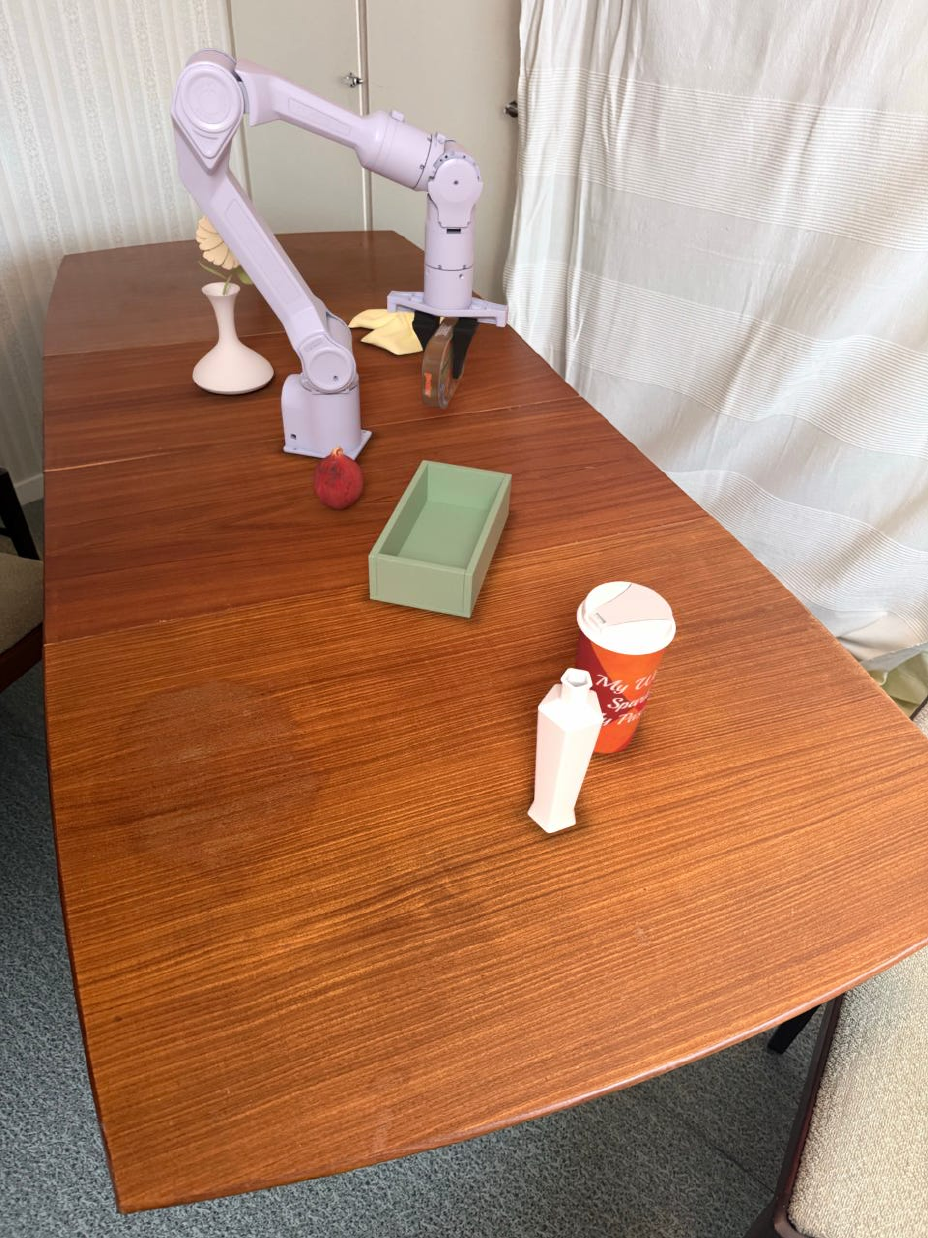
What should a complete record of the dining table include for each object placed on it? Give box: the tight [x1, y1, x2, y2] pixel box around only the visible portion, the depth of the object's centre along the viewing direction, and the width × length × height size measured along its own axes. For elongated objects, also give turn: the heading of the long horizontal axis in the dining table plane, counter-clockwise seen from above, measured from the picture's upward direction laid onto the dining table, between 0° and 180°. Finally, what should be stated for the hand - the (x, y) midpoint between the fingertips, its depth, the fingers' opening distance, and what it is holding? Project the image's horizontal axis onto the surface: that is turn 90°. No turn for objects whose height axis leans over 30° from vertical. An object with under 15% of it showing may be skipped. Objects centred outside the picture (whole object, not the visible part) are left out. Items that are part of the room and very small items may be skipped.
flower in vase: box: [191, 212, 275, 395], centre depth 113 cm, size 13×11×25 cm
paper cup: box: [574, 581, 677, 754], centre depth 69 cm, size 8×8×14 cm
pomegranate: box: [312, 446, 365, 511], centre depth 95 cm, size 6×6×8 cm
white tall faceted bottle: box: [526, 667, 603, 834], centre depth 61 cm, size 5×4×15 cm
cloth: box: [347, 308, 445, 356], centre depth 137 cm, size 22×19×6 cm
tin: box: [420, 317, 468, 411], centre depth 104 cm, size 15×3×8 cm, turn 167°
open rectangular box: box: [367, 459, 513, 619], centre depth 90 cm, size 11×20×6 cm, turn 166°
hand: (445, 373), depth 105 cm, fingers closed on tin, 2 cm apart
